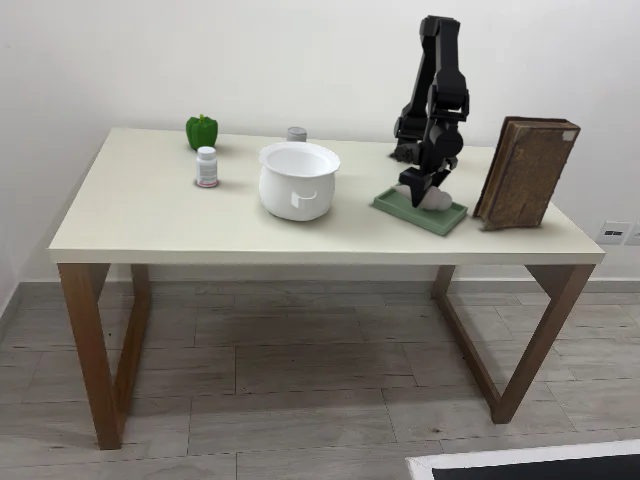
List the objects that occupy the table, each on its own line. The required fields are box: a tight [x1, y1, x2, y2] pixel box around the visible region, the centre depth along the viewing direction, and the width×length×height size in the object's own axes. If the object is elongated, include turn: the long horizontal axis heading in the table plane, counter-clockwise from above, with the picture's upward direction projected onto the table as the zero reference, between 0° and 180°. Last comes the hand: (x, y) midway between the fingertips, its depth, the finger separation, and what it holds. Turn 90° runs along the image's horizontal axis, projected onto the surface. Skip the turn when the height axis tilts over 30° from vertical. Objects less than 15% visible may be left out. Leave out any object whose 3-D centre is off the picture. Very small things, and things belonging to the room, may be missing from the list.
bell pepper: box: [185, 113, 219, 152], centre depth 131 cm, size 8×8×10 cm
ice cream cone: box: [390, 185, 453, 211], centre depth 115 cm, size 6×6×15 cm
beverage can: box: [285, 126, 308, 143], centre depth 123 cm, size 5×5×12 cm
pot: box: [258, 141, 342, 222], centre depth 109 cm, size 22×17×12 cm
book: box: [471, 115, 582, 231], centre depth 110 cm, size 17×7×25 cm, turn 99°
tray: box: [372, 182, 469, 236], centre depth 117 cm, size 13×18×2 cm
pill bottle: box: [195, 147, 218, 188], centre depth 115 cm, size 5×5×8 cm
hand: (421, 202), depth 116 cm, fingers closed on ice cream cone, 7 cm apart
